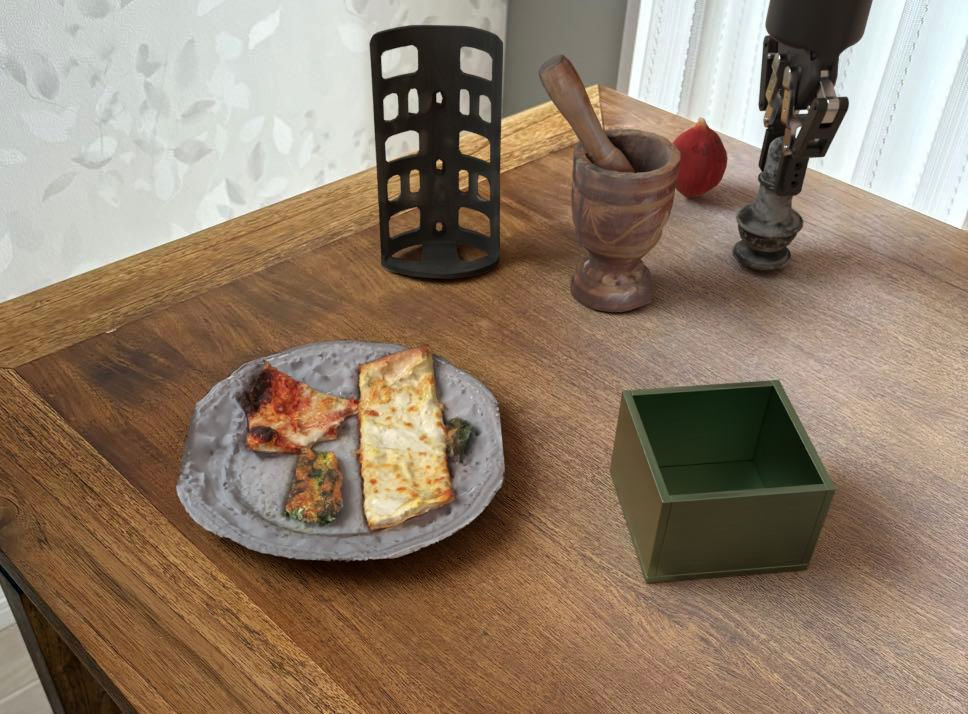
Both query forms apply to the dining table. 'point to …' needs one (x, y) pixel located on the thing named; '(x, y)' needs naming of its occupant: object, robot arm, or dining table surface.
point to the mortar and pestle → (612, 196)
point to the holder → (438, 148)
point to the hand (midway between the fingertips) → (778, 180)
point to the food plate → (342, 451)
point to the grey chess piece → (767, 221)
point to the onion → (700, 160)
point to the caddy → (718, 481)
